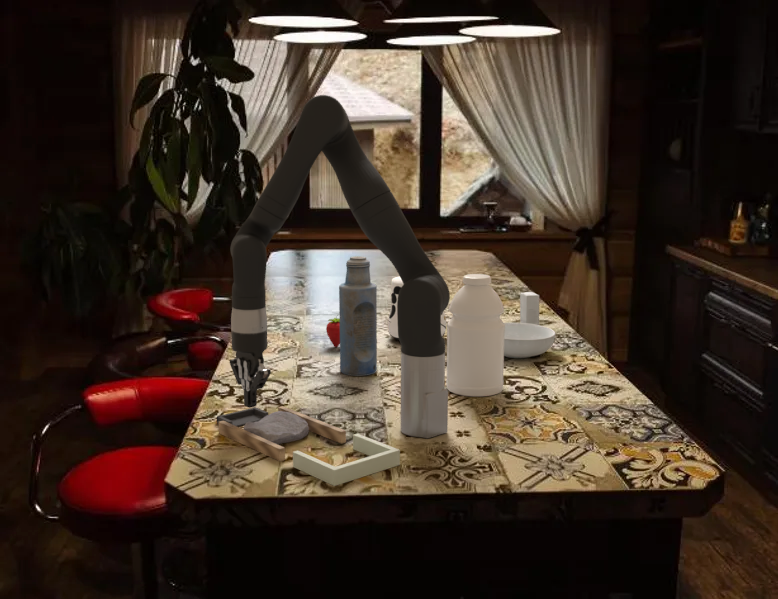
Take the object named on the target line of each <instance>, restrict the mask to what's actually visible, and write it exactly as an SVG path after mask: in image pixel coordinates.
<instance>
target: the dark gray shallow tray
mask: <svg viewBox="0 0 778 599" xmlns="http://www.w3.org/2000/svg"><path fill="white" fill-rule="evenodd" d="M267 415H269V412H268V411H266V410H263V409H261V408H259V407H256V406H255V407H251V408H246V409H241V410H238V411H234V412H230V413H225V414H221V415H217V416H216V424H218V425H219V422H220V421H226V422H228V423H230V424H232V425H235V426H237V427H242V426H245V424H246V423H247V422H253V423H254V422H258V421H260V420H261V419H263V418H264V417H265V416H267Z"/></svg>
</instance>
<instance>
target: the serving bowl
mask: <svg viewBox="0 0 778 599" xmlns="http://www.w3.org/2000/svg"><path fill="white" fill-rule="evenodd" d="M504 323H505V337H504V357H505V358H510V359H511V358H513V359H525V358H530V357H535V356H539V355H542V354H544V353H545V352H547V351H548V350H550V348H551V347H553V344H554V342H555V338H556V331H555V330H553V329H552V328H550V327H547V326H544V325H540V324H539V325H535V324H528V323H520V322H504Z"/></svg>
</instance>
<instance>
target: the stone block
mask: <svg viewBox="0 0 778 599" xmlns="http://www.w3.org/2000/svg"><path fill="white" fill-rule="evenodd" d="M243 429H244V430H246V431H248V432H250V433H253V434H255V435H257V436H259V437H262V438H264V439H266V440H268V441H271V442H273V443H275V444H277V445H281V444H285V443H290V442H295V441H299V440H303V439H304V438H305V437H306V436H308V434H309V432H310V431H309V427H308V423H307V422H306V421H305V420H304V419H302V418H300V417H298V416H297V415H296V414H292V413H290V412H283V411H278V410H277V411H273V412H272V413H270V414H269V413H268V415H267V416H265V417H264V418H263V419H261V420H260V421H258V422H254V423H253V422H247V423H246V424H245V425H243Z"/></svg>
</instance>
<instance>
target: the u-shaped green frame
mask: <svg viewBox="0 0 778 599" xmlns="http://www.w3.org/2000/svg"><path fill="white" fill-rule="evenodd" d="M352 450H354V451H356V452H359V453H361V454H364V455H367V456H366V457H363V458H360V459H359V458H358V459H357V460H352V461H350V462H347V463H343V464H340V465H336V466H335V465H332V464H330V463H328V462H325V461H323V460H321V459H318V458H316V457H314V456H312V455H309V454H307V453H304V452H302V451H300V450H294V451H292V466H293V468H294V469H297V470H298V471H299V470H300V471H301V472H303V473H305V474H307V475H310V476H312V477H314V478H317V479H318V480H321V481H322V482H325V483H327V484H329V485H331V486H334V487H335V486H339V485H341V484H346V483H348V482H351V481H355V480H357V479H360V478H364V477H366V476H369V475H373V474H375V473H379V472H382V471H385V470H388V469H390V468H394V467H398V466H400V464H401V450H400V449H399V448H396V447H394V446H391V445H388V444H385V443H383V442H380V441H378V440H375V439H372V438H370V437H367V436H364V435H363V434H360V433H355V434H352Z"/></svg>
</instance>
